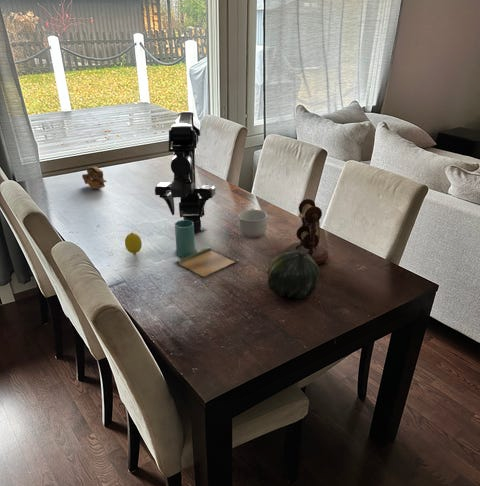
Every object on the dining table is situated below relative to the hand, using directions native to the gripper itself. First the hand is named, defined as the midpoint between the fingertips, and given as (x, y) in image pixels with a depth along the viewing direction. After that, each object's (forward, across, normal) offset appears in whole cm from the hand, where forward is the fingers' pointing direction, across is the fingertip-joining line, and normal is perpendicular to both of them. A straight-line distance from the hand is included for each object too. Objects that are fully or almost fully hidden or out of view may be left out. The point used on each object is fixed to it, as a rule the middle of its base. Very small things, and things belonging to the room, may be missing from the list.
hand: (186, 215), depth 143 cm
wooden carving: (+10, -63, +58) cm, 86 cm away
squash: (+15, +37, -18) cm, 44 cm away
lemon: (+14, -18, -3) cm, 23 cm away
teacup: (+13, +19, +22) cm, 32 cm away
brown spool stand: (+14, +40, +4) cm, 43 cm away
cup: (+14, -1, +1) cm, 14 cm away
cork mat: (+14, +8, -5) cm, 17 cm away
